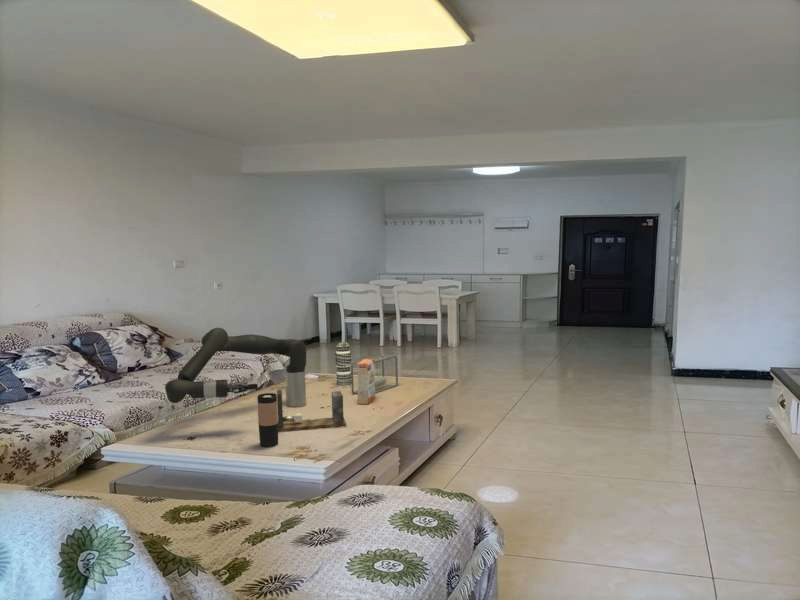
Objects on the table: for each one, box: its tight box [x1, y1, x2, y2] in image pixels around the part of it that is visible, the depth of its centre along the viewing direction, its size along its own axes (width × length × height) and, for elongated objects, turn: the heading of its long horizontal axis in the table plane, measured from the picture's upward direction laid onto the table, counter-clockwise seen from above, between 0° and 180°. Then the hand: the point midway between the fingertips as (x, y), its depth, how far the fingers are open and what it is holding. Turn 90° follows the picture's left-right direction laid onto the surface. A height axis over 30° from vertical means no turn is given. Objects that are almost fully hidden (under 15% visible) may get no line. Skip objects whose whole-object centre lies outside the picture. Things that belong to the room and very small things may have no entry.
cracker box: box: [356, 358, 376, 405], centre depth 309 cm, size 14×6×21 cm, turn 168°
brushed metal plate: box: [276, 389, 295, 427], centre depth 265 cm, size 7×9×14 cm
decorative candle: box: [334, 341, 352, 388], centre depth 346 cm, size 9×9×25 cm
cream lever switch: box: [294, 411, 303, 422], centre depth 268 cm, size 3×7×3 cm, turn 12°
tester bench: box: [278, 390, 347, 433], centre depth 267 cm, size 32×11×14 cm, turn 102°
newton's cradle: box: [350, 354, 399, 395], centre depth 334 cm, size 30×10×18 cm, turn 147°
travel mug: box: [257, 392, 279, 448], centre depth 242 cm, size 8×8×20 cm
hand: (257, 386), depth 261 cm, fingers closed
